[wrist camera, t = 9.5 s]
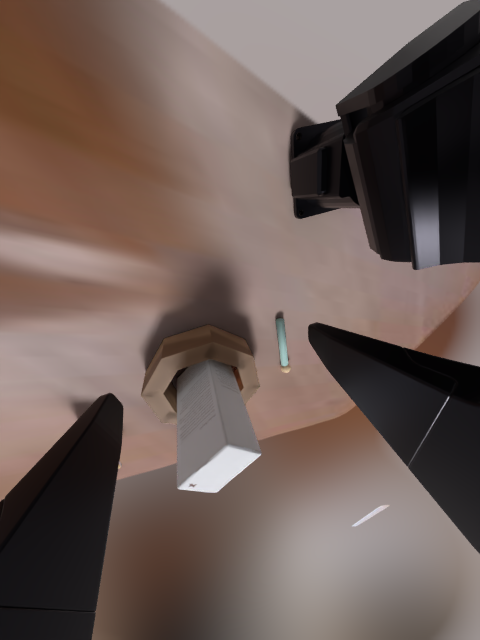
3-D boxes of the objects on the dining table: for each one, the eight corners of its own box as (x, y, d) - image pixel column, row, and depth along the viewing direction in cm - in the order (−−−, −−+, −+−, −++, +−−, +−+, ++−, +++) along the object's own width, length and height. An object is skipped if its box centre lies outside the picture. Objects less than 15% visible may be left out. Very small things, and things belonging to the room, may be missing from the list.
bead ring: (238, 314, 23) (247, 330, 20) (255, 384, 30) (263, 403, 27) (130, 349, 22) (122, 371, 19) (173, 414, 28) (172, 438, 25)
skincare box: (202, 389, 27) (215, 494, 17) (176, 377, 25) (173, 491, 15) (231, 359, 26) (264, 455, 16) (206, 345, 24) (226, 445, 14)
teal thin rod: (272, 320, 25) (277, 325, 24) (283, 316, 25) (288, 322, 24) (279, 369, 29) (283, 375, 28) (288, 366, 30) (292, 372, 28)
